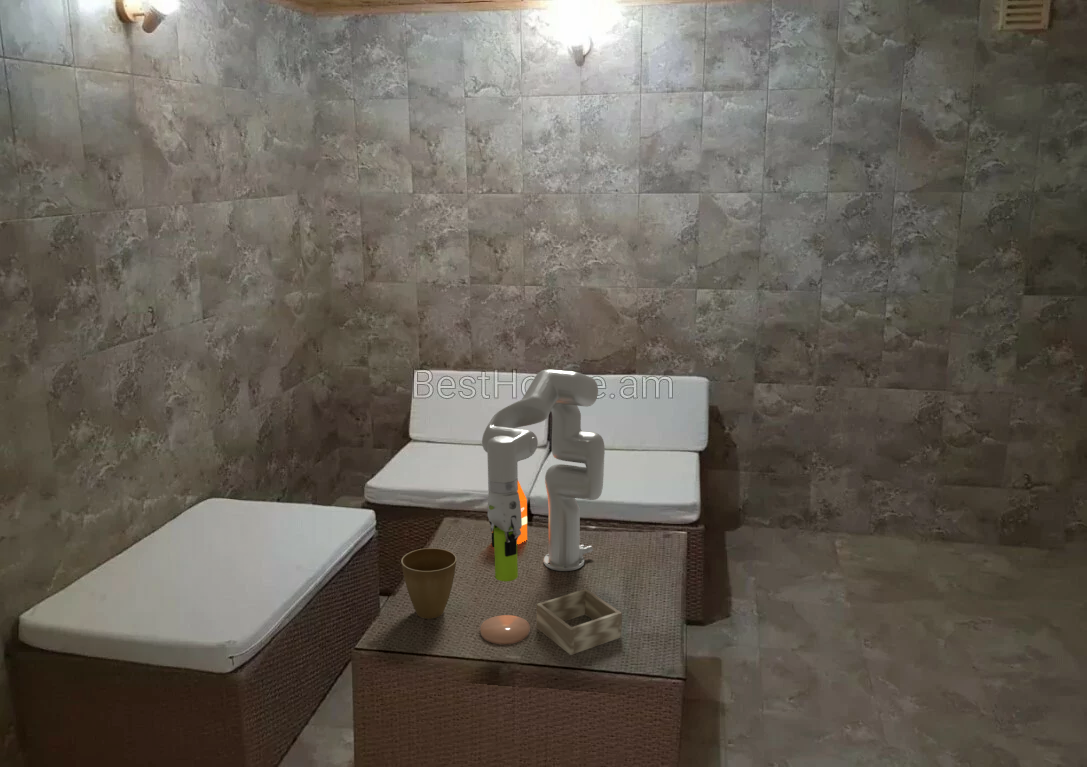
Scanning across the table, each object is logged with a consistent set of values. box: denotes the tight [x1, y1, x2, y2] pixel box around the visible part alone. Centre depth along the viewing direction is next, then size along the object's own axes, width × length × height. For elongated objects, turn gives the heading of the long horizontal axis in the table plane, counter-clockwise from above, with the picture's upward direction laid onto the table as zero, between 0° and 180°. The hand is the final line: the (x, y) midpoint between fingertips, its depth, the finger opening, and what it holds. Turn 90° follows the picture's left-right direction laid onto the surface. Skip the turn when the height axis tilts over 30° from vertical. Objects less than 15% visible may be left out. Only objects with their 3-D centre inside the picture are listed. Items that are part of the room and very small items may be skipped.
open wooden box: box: [536, 588, 623, 656], centre depth 237 cm, size 16×16×7 cm
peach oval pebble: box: [479, 614, 531, 645], centre depth 239 cm, size 13×13×1 cm
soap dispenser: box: [489, 505, 519, 582], centre depth 233 cm, size 6×7×20 cm
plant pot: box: [400, 547, 458, 620], centre depth 247 cm, size 15×15×16 cm
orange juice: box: [491, 480, 528, 545], centre depth 292 cm, size 8×9×20 cm
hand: (504, 549), depth 233 cm, fingers closed on soap dispenser, 5 cm apart
